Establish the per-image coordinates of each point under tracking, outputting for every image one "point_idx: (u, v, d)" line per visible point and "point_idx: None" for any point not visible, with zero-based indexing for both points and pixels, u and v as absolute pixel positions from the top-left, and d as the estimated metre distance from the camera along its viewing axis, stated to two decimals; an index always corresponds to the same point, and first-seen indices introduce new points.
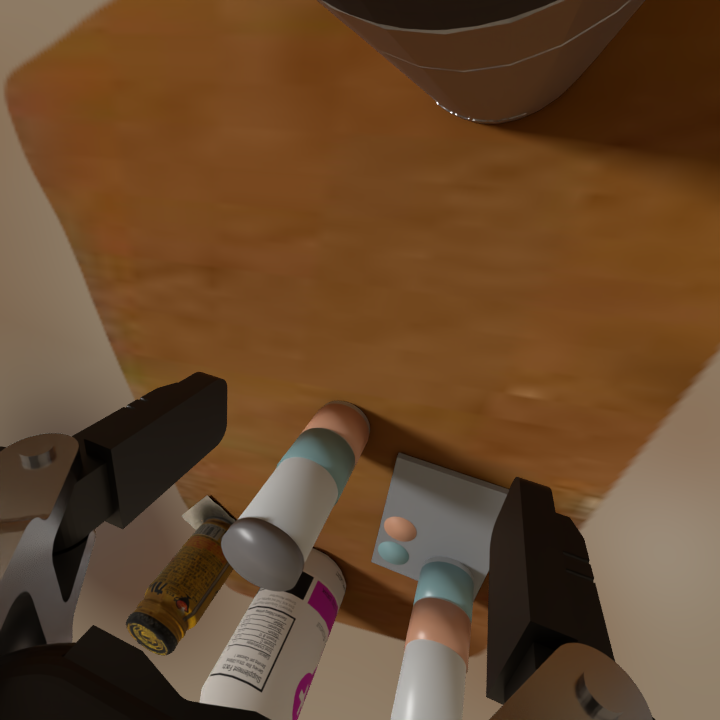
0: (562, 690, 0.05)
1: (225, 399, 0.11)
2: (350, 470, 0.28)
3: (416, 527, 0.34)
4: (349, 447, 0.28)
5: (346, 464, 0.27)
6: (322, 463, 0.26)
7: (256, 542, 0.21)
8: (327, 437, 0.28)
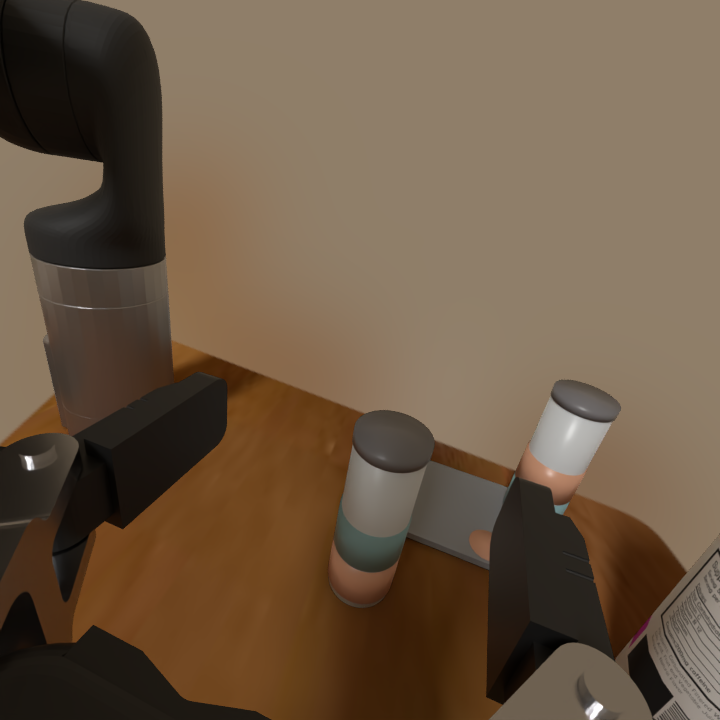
0: (562, 690, 0.05)
1: (225, 399, 0.11)
2: None
3: (476, 528, 0.34)
4: None
5: None
6: None
7: (368, 426, 0.23)
8: None
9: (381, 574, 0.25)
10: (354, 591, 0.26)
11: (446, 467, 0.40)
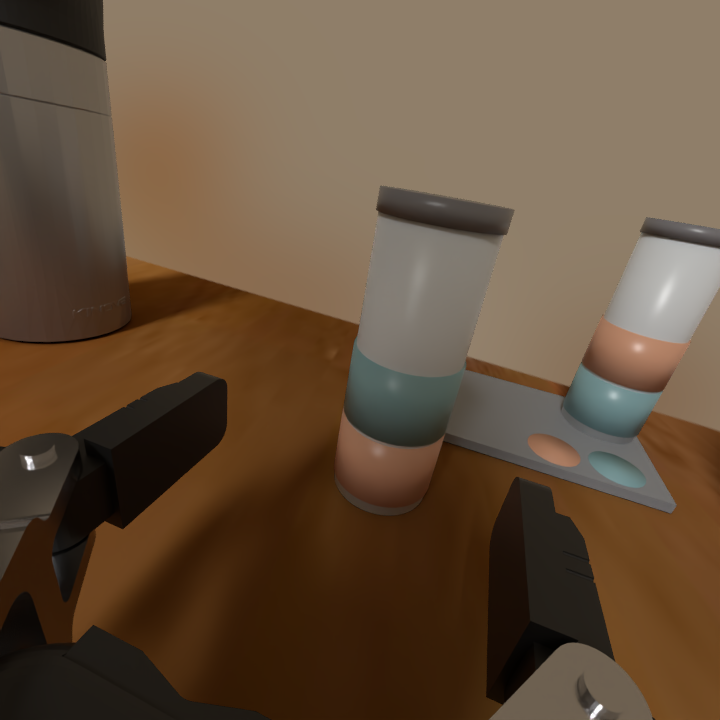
0: (562, 690, 0.05)
1: (225, 399, 0.11)
2: None
3: (534, 432, 0.25)
4: None
5: None
6: None
7: (403, 189, 0.14)
8: None
9: (419, 453, 0.16)
10: (376, 484, 0.17)
11: (482, 375, 0.31)
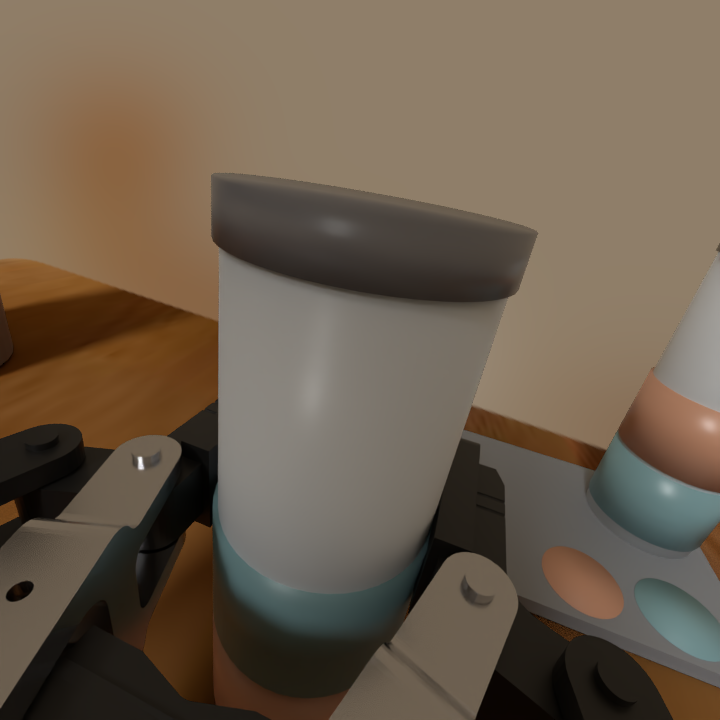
0: (450, 592, 0.06)
1: None
2: None
3: (551, 544, 0.17)
4: None
5: None
6: None
7: (282, 182, 0.06)
8: None
9: None
10: None
11: (477, 435, 0.23)
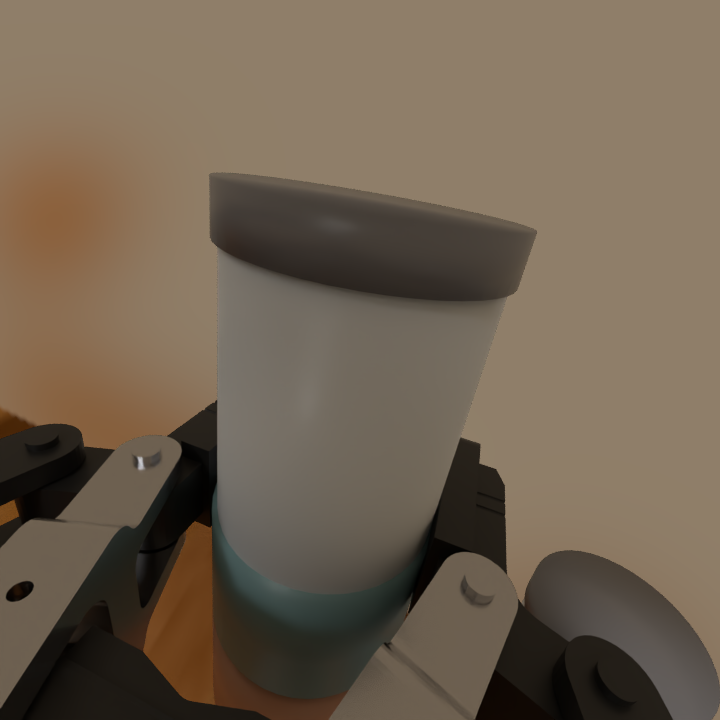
0: (450, 593, 0.06)
1: None
2: None
3: None
4: None
5: None
6: None
7: (280, 181, 0.06)
8: None
9: None
10: None
11: None
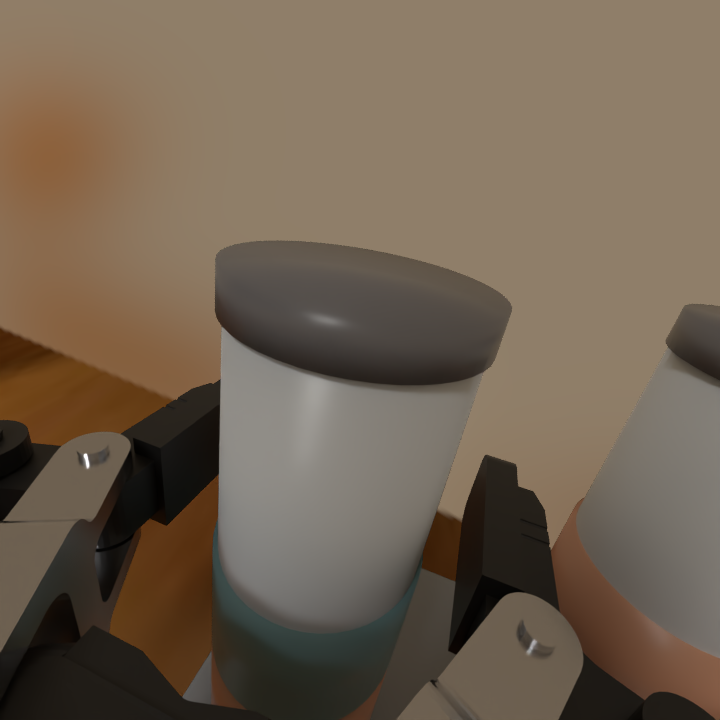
0: (505, 636, 0.05)
1: None
2: None
3: None
4: None
5: None
6: None
7: (280, 253, 0.07)
8: None
9: None
10: None
11: None
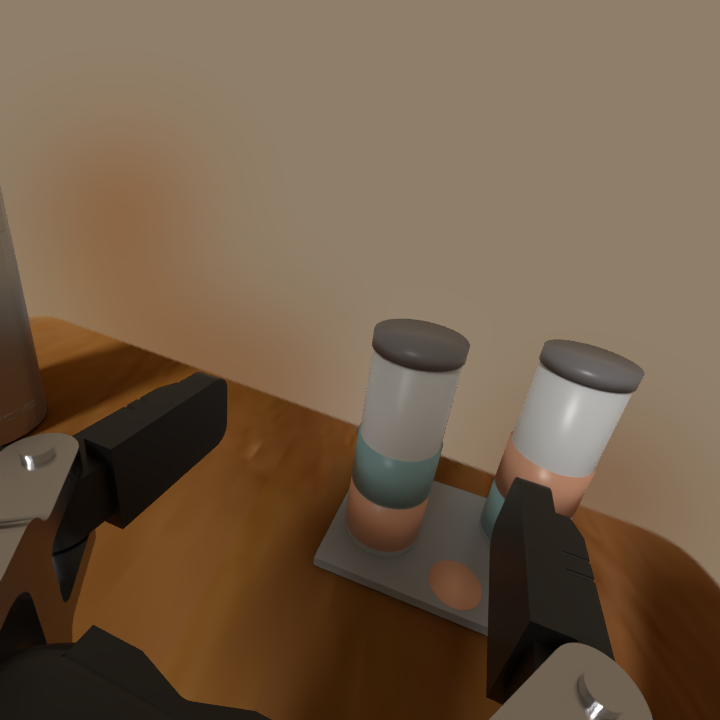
0: (563, 691, 0.05)
1: (225, 399, 0.11)
2: None
3: (441, 558, 0.24)
4: None
5: None
6: None
7: (391, 329, 0.20)
8: None
9: (409, 512, 0.22)
10: (377, 535, 0.22)
11: None
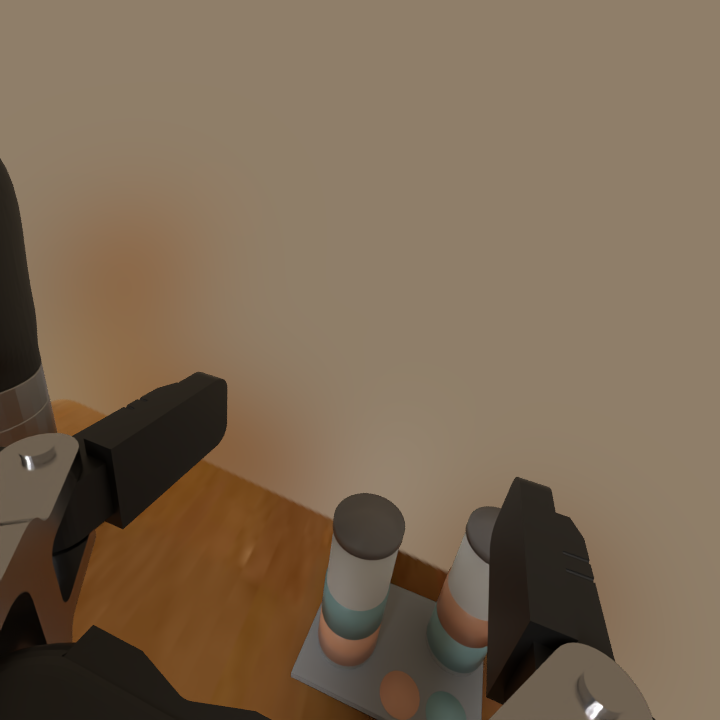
0: (562, 690, 0.05)
1: (225, 399, 0.11)
2: None
3: (391, 669, 0.30)
4: None
5: None
6: None
7: (347, 512, 0.26)
8: None
9: (363, 641, 0.28)
10: (339, 655, 0.29)
11: None
